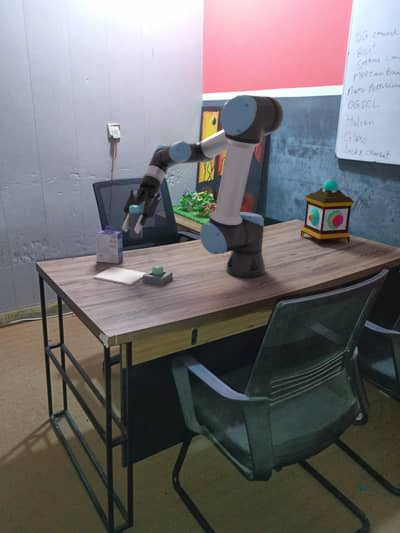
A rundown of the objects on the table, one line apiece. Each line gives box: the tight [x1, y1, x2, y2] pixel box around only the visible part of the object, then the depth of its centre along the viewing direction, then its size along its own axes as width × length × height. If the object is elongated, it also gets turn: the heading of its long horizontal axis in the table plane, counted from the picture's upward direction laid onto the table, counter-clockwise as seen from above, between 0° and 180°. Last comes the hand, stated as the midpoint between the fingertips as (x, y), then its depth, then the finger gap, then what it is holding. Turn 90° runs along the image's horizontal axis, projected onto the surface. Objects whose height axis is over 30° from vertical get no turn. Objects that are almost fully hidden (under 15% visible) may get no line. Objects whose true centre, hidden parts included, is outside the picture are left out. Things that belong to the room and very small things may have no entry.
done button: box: [151, 264, 164, 277], centre depth 158 cm, size 4×4×3 cm
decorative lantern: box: [300, 178, 355, 247], centre depth 210 cm, size 20×20×30 cm
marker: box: [129, 205, 143, 240], centre depth 165 cm, size 5×5×12 cm
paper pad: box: [93, 266, 147, 286], centre depth 162 cm, size 16×12×1 cm
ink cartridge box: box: [94, 225, 124, 264], centre depth 176 cm, size 10×6×14 cm, turn 78°
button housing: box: [142, 269, 173, 286], centre depth 159 cm, size 8×8×2 cm
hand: (130, 230), depth 163 cm, fingers closed on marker, 5 cm apart
